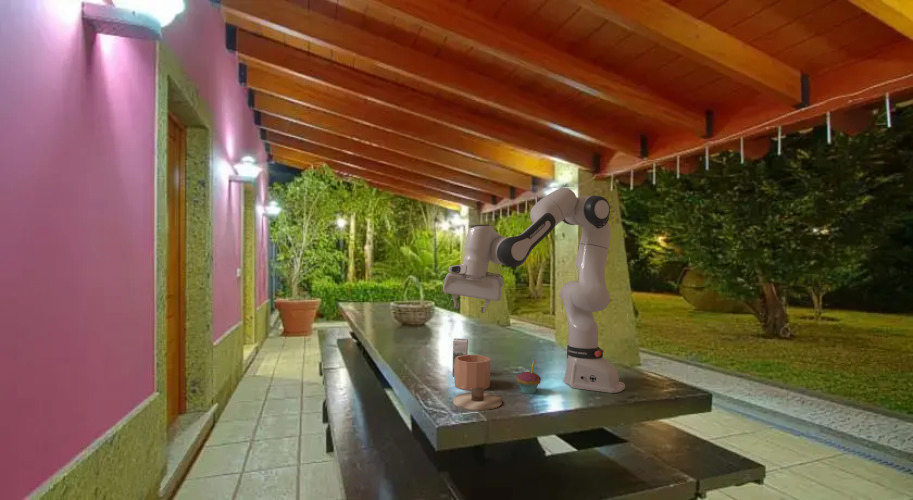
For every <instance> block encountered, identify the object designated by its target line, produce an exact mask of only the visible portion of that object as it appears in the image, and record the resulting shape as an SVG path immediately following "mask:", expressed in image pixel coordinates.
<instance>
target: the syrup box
mask: <svg viewBox="0 0 913 500" xmlns="http://www.w3.org/2000/svg"><path fill="white" fill-rule="evenodd" d="M468 351H469V339H468V338H456V337H455V338H453V340H452V372H451V373H452V377H454V378H455V358H456V357H457V356H461V355H469V354H468Z"/></svg>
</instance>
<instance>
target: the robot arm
mask: <svg viewBox="0 0 913 500" xmlns="http://www.w3.org/2000/svg"><path fill="white" fill-rule="evenodd" d="M610 214H611V207H610V203H609V201H608V199H606V197H603V196H601V195H584V196H583V195H581V196H577V195H576V193H575V192H574V191H573V190H572V189H570V188H568V187H560V188H558V189H555V190H552V192H550V193H549V194H547V195H545V196H543V198H541V199H540V200H538V201H537V202H536V203H535V204H534V205H533V206H532V208H531V209H530V213H529V219H530V221H531V224H530V225H529V226H527V228H526V229H525V230H524V231H522V233H520V234H518V235H516V236H515V235H514V236H503V235H501V234H499V233H498V232H497V231H496V230H495V229H494V228H493V227H492V225H490V224H486V223H485V224H473V225H471V226H470V227H469V228H468V230H467V234H466V238H465V246H464V251H465V255H464V256H463V260H462V264H460V263H459V264H456V265H455V264H454V265H450V266H448V273H447V274H446V276H445V278H444V282H443V285H442V292H443V293H444V294H448V295H449V294H450V295H452V296H451V298H452V301H453V303H454V305H453V308H454V309H459V308H460V302H458V300H457V298H458V296H461V297H467V298H473V299H481V300H484V303H485V305H484V306H482V307H480V313H482V314H483V313H484V314H486V312H487V308H488V306H489V305H490V304H491V301H493V302H499V301H500V300H501V299H502V287H503V286H504V282H505V279H504V277H503V275H501V274H500V273H495V272H489V263H490V262H491V263H493V264H497V265H504V266H507V267H510V268H517V267H520V266H521V265H523V264H524V263H525V262H526V261H527V259H528V258H529V256H530V254H531V253H532V250H534V249H535V247H536V246H537V245H538V244H540V243H541V242H542V241H543V239H545V238H546V237H547V236H548V235H549V234H550V233H551V232H552V231H553V229H554V228H555V227H557V226H558V225H559V224H560V223H561V222H563V223H565V224H566V225H570V226H580V227H581V231H582V232H581V236H580V241H579V244H578V250H577V255H576V259H575V266H576V268H577V272H578V280H572V281H569V282H566V283H564V284H563V285H562V286H561V289H560V292H559V297H560V300H561V301H562V303H563V305H564V310H565V313H566V318H567V325H568V328H567V329H568V335H567V336H568V342H567V343H568V344H567V346H566V359H567V362H566V364H567V365H566V369H565V373H564V374H565V375H564V377H563V382H564V383H565V384H566V385H569V387H570V388H572V389H579V390H585V391H586V390H587V391H594V392H602V393H609V394H613V393H614V394H615V393H620V392H622V391H624V390H625V389H626V384H625V382H623V381H620V378H619V372H618V370H617V369H616V367H614V366H613V365H612V364H611V363H610V362H608V361H607V360H606V359H605V358H604V353H605V349H604V348H600V347H599V326H598V324H597V322H596V321H595V316H594V314H593V313H594V312H595V313H596V312H601V311H604V310H605V309H607V308H608V306H609V304H610V301H611V294H610V291H609V290H608V288H607V285H606V284H607V283H606V264H607V259H608V254H609V247H610V243H611V242H610V241H611V226H610V224H609V220H610Z"/></svg>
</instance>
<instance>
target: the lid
mask: <svg viewBox="0 0 913 500" xmlns="http://www.w3.org/2000/svg"><path fill="white" fill-rule="evenodd" d="M484 391H485V390H484V389H483V388H479V387H475V388H472V391H471V392H465V393H460V394H457V395H455V396H454V397H453V399H452V400H453V401H452V402H453V405H455V406H457V407H458V408H461V409H464V410H470V411H490V410H489V409H491V410H495V409H498V408H499V406H500V405H501V406H502V405H503V401H502V398H500V397H499V396H497V395H495V394H492V393H485V392H484ZM501 406H500V407H501ZM497 407H498V408H497ZM494 408H495V409H494Z"/></svg>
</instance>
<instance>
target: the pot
mask: <svg viewBox="0 0 913 500" xmlns="http://www.w3.org/2000/svg"><path fill="white" fill-rule="evenodd" d="M490 386H491V357H489V356H485V355H481V354H468V355H461V356H457V357H456V358H455V377H454V387H456V388H457V389H459V390H461V391H470V392H472V388H475V387H479V388H483V389H484V391H485V390H488V389H489V388H490Z"/></svg>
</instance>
